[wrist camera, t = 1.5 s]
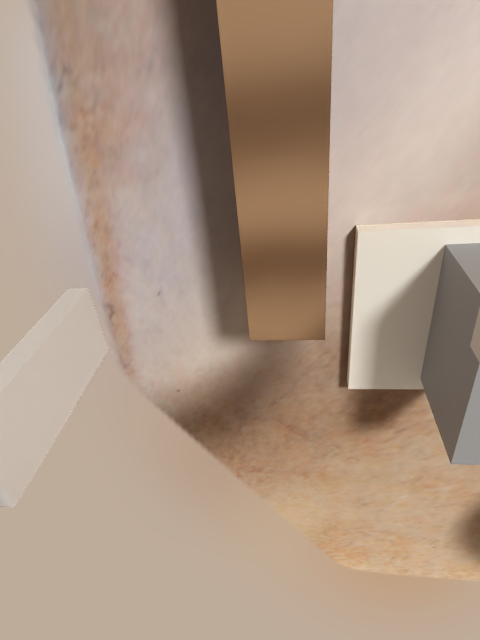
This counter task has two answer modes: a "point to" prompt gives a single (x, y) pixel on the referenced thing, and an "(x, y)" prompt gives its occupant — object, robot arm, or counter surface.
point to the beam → (280, 157)
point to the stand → (420, 321)
